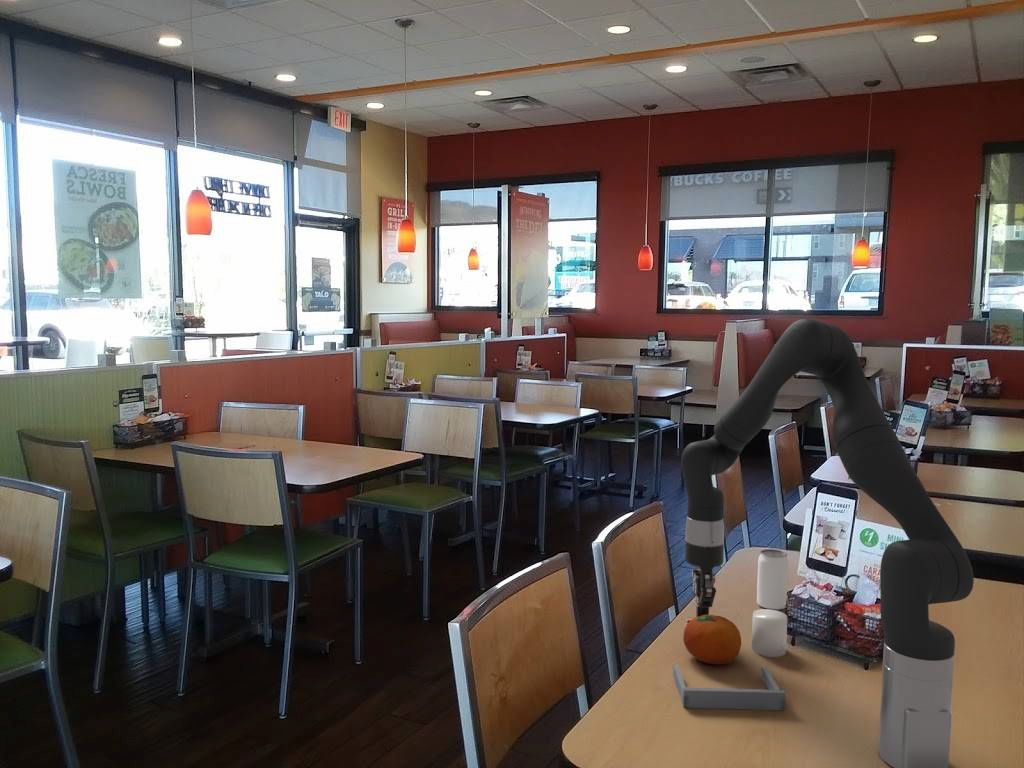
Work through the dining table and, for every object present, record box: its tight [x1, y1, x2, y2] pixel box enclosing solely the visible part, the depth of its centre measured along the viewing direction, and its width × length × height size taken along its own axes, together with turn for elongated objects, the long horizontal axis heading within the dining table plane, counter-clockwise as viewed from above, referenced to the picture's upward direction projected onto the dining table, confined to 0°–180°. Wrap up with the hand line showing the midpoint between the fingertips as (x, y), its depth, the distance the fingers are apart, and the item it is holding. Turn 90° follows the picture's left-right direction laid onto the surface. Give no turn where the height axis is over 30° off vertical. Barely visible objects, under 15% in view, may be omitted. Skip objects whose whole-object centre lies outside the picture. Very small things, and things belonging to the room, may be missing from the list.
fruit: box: [682, 614, 742, 665], centre depth 155 cm, size 11×10×8 cm
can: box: [756, 548, 790, 611], centre depth 183 cm, size 6×6×12 cm
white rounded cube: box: [751, 608, 788, 658], centre depth 160 cm, size 6×6×7 cm
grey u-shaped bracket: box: [672, 664, 786, 711], centre depth 143 cm, size 12×17×3 cm
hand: (702, 623), depth 166 cm, fingers closed
